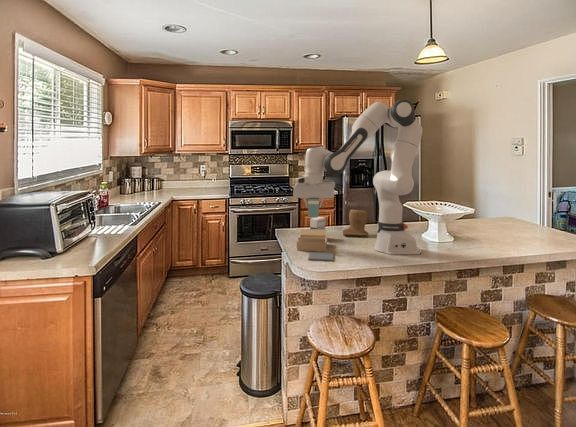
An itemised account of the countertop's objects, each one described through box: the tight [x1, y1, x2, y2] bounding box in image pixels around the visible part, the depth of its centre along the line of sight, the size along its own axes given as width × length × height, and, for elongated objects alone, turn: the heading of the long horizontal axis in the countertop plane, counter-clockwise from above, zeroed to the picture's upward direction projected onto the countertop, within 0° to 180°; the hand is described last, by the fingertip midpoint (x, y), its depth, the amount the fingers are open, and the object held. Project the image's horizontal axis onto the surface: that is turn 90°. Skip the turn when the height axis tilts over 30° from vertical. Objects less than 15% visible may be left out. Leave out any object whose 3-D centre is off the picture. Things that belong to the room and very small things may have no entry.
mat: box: [307, 251, 334, 262], centre depth 178 cm, size 11×11×1 cm
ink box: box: [309, 216, 327, 230], centre depth 213 cm, size 8×5×12 cm, turn 141°
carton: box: [296, 228, 328, 252], centre depth 196 cm, size 14×20×7 cm
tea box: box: [307, 198, 320, 218], centre depth 193 cm, size 5×6×9 cm
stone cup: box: [342, 209, 369, 237], centre depth 223 cm, size 15×12×15 cm
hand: (313, 207), depth 193 cm, fingers closed on tea box, 5 cm apart
